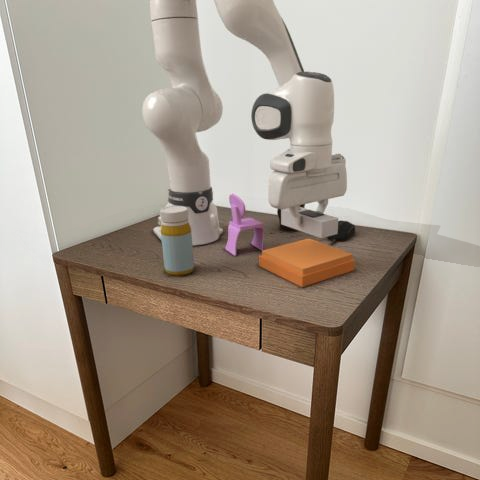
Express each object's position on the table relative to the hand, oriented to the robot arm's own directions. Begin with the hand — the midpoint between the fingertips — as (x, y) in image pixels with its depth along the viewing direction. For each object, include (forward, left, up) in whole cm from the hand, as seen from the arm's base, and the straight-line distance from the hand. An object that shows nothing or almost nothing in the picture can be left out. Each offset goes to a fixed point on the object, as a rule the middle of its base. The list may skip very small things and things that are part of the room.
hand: (308, 221), depth 104 cm
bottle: (-17, -25, -12) cm, 32 cm away
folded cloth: (0, 0, -11) cm, 11 cm away
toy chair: (-20, -4, -12) cm, 24 cm away
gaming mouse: (-12, +23, -12) cm, 28 cm away
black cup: (-27, +16, -12) cm, 34 cm away
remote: (0, 0, -2) cm, 2 cm away
